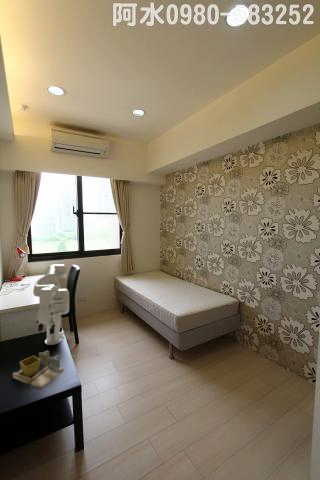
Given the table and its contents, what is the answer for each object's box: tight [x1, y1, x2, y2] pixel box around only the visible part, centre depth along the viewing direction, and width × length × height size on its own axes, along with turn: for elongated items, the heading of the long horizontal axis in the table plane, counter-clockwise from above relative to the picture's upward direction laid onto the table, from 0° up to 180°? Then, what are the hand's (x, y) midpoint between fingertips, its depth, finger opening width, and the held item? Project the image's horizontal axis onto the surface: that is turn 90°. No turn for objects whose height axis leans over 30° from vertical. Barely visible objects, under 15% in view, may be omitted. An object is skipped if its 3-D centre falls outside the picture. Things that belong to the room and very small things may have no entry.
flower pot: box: [19, 355, 41, 378], centre depth 139 cm, size 9×9×9 cm
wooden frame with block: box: [12, 350, 50, 385], centre depth 143 cm, size 20×14×8 cm
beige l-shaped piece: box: [30, 354, 64, 389], centre depth 137 cm, size 17×8×10 cm, turn 160°
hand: (46, 332), depth 145 cm, fingers open, 9 cm apart
